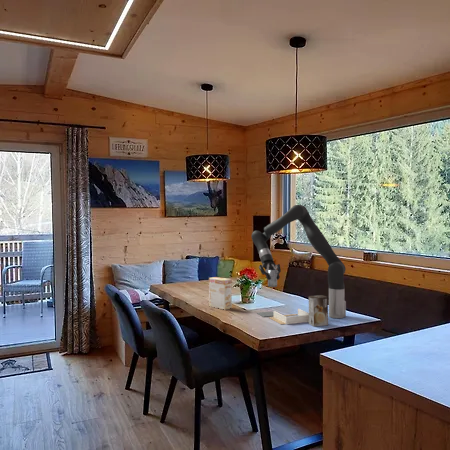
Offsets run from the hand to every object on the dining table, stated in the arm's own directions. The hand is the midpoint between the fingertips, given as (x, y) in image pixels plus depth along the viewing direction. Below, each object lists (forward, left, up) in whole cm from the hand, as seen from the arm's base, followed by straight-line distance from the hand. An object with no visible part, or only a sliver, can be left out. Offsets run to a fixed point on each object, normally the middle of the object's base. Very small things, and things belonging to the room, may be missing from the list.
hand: (273, 279), depth 263 cm
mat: (+2, -5, -23) cm, 24 cm away
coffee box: (-15, +26, -23) cm, 38 cm away
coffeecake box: (+23, -34, -23) cm, 47 cm away
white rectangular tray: (-7, +10, -23) cm, 26 cm away
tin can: (0, -2, -5) cm, 5 cm away
